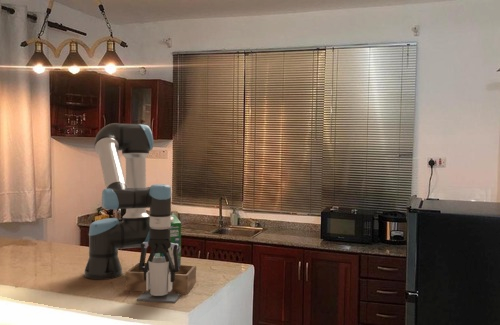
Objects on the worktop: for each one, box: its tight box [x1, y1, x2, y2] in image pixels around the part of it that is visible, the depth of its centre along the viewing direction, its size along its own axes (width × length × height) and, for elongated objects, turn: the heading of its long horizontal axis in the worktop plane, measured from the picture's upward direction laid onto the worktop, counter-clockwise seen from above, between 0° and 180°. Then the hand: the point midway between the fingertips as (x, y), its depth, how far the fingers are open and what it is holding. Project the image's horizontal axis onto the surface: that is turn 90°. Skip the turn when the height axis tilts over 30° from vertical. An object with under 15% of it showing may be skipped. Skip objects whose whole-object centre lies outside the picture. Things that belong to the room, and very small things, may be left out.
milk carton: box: [154, 214, 182, 265], centre depth 191 cm, size 9×9×25 cm
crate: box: [125, 262, 197, 295], centre depth 174 cm, size 24×14×7 cm, turn 84°
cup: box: [148, 257, 170, 296], centre depth 160 cm, size 8×8×12 cm
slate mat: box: [136, 291, 182, 304], centre depth 161 cm, size 14×8×1 cm, turn 84°
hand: (159, 289), depth 161 cm, fingers closed on cup, 7 cm apart
